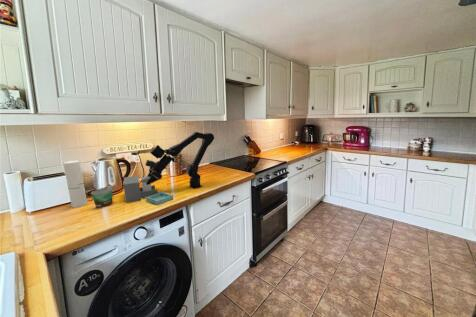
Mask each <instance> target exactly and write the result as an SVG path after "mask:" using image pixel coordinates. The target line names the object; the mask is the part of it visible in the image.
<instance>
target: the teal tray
mask: <svg viewBox="0 0 476 317" xmlns="http://www.w3.org/2000/svg"><path fill="white" fill-rule="evenodd" d="M145 200H146V203H149V204H151V205H152V204H153V205H154V206H160V205H162V204H165V203H168V202H169V201H172V200H174V195H173V194H170V193H168V192H163V191H161V192H157V194H154V195H152V196H149V197H146V198H145Z"/></svg>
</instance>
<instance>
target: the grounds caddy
mask: <svg viewBox="0 0 476 317" xmlns="http://www.w3.org/2000/svg"><path fill="white" fill-rule="evenodd" d="M149 178H150V176H149V177H147V176H145V177H144V176H142V177H140V181H141V186H142V190H143V191H148V190H152V189H151V186H152V183H151V184H149V185H147V184H146V183H147V182H148V180H149Z"/></svg>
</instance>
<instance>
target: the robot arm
mask: <svg viewBox="0 0 476 317" xmlns="http://www.w3.org/2000/svg"><path fill="white" fill-rule="evenodd" d="M198 139H201V144H200V147H199V149H198V150H197V153H196V155H195V157H194V159H193V161H192V162H191V163H188V165H187V167H186V168H185V170H186V171H185V172H186V174H187V175H188V176H189V177H190V178H189V181H188V182H189V186H188V187H189V188H192V189H197V188H200V187H203V186H202V184H201V175H200V174H199V173H198V172H199V167H200V166H199V165H200V164H201V161H202V160H203V157H204V155H205V153H206V151H207V149H208V147H209V146H210V145H211V144H212V143H213V142H214V140H215V136H214V134H213V133H211V132H205V133H203V132H199V131H194V132H193V133H192V134H191V135H189V136H188V137H186V138H185V139H183V140H182V141H181V142H179V143H177V144H174V145H173V146H170V147H169V148H167V149H166V148H165V149H163V148H162V147H161V146H160V145H159V144H157V145H156V146H154V147H153V148H152V149H151V150H150V152H149V154H151V155H152V156H153V157H155V158H156V159H159V160H156V162H155V161H153V160H149V159H147V160H146V162H145V163H144V164H145V167H148V174H147V176H146V177H149V176H150V178H149V180H148V182H147V183H146V184H147V185H149V184H151V185H152V184H153V183H155V182H157V181H160V180H162V178H163V174H162V173H163V171H164V170H166V169H167V167H168V166H169V164H170V163H171V162H173V163H175V162H176V159H175V157H177V156H178V155H179V154H181V152H182V151H183V150H184V149H185V148H186V147H188V146H189V145H190V144H192V143H193V142H194V141H196V140H198Z"/></svg>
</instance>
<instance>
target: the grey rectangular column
mask: <svg viewBox="0 0 476 317" xmlns="http://www.w3.org/2000/svg"><path fill="white" fill-rule="evenodd" d="M62 165H63V167H64V168H63V169H64V174H65V179H66V183H67V188H68V195H69V199H70V206H71V208H81V207H84V206H86V205H87V204H88V201H87V196H86V195H87V194H86V190H85V189H86V188H85V183H84V178H83V172H82V167H81V161H80V160H68V161H64V162H63V164H62Z"/></svg>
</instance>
